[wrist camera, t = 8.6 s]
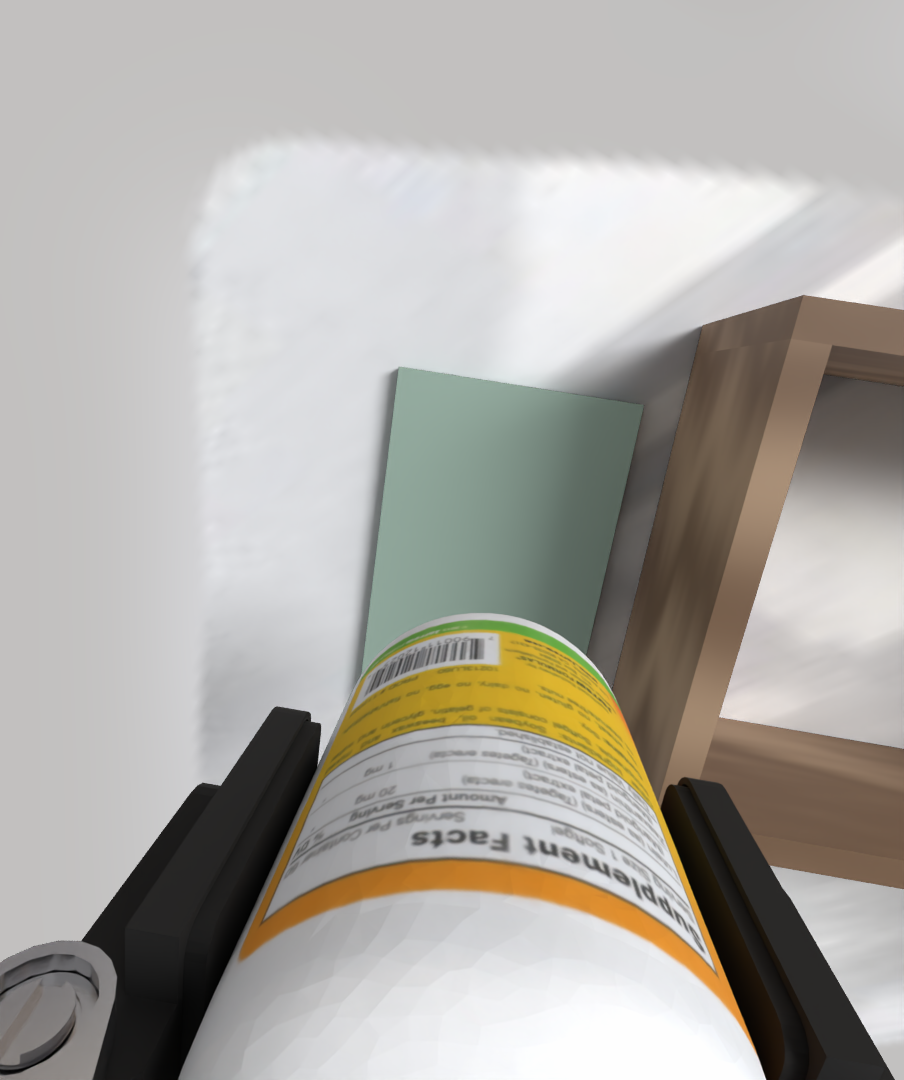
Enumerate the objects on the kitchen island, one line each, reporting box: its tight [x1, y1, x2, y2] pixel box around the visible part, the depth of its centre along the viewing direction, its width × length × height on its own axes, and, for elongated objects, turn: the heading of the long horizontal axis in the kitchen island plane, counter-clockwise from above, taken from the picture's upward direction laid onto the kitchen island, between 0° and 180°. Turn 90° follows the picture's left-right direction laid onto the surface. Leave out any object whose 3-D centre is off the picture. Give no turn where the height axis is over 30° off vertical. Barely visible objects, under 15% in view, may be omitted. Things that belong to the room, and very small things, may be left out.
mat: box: [361, 367, 644, 675], centre depth 23 cm, size 14×9×1 cm, turn 171°
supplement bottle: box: [178, 613, 766, 1080], centre depth 7 cm, size 5×5×10 cm
